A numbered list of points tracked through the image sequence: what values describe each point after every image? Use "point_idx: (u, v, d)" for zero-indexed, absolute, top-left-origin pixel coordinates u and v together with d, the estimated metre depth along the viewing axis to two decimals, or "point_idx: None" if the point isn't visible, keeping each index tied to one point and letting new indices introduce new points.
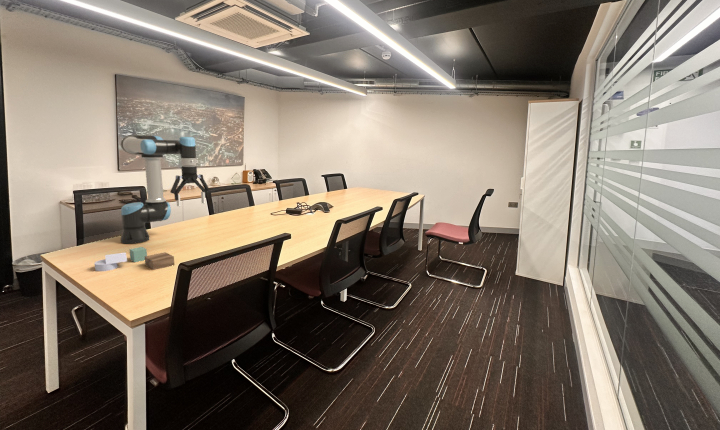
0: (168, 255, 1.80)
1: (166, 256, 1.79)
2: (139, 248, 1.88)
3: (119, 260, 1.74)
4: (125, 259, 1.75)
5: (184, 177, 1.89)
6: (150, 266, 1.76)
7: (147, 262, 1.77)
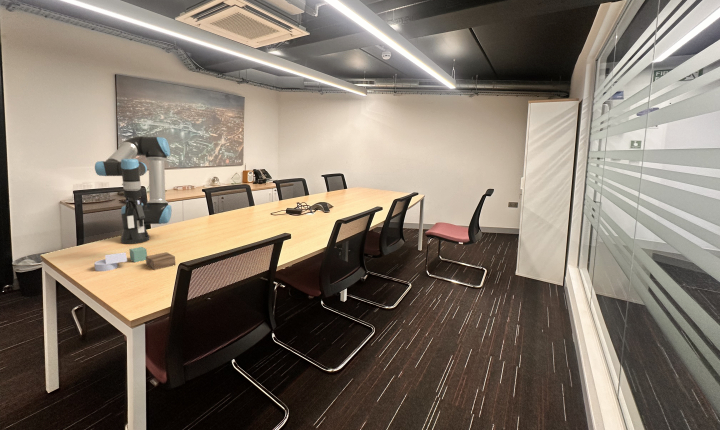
0: (169, 255, 1.81)
1: (167, 256, 1.80)
2: (139, 248, 1.88)
3: (119, 260, 1.74)
4: (125, 259, 1.75)
5: (128, 200, 1.82)
6: (151, 266, 1.76)
7: (148, 262, 1.78)
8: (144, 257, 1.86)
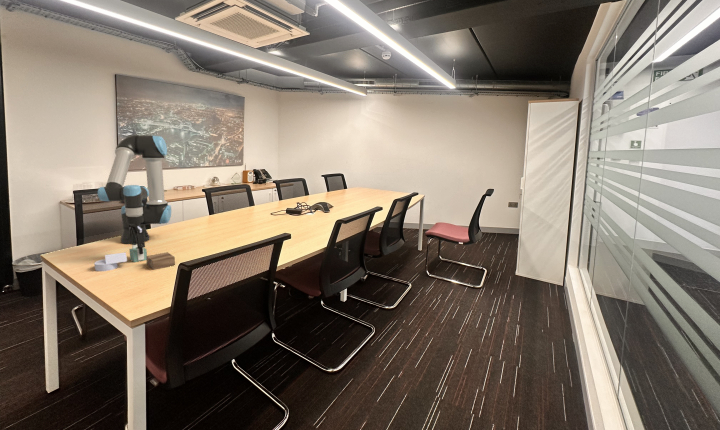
0: (169, 256, 1.80)
1: (167, 256, 1.79)
2: None
3: (119, 260, 1.74)
4: (125, 259, 1.75)
5: (131, 225, 1.85)
6: (150, 266, 1.76)
7: (148, 261, 1.78)
8: (144, 257, 1.86)
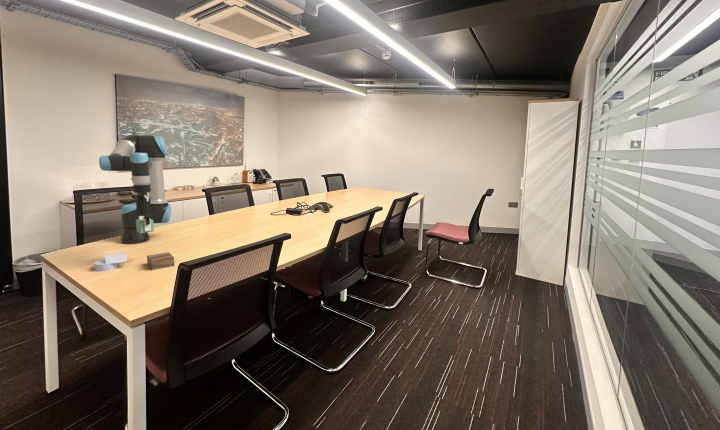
0: (169, 256, 1.80)
1: (167, 256, 1.79)
2: None
3: (119, 260, 1.74)
4: (125, 259, 1.75)
5: (137, 195, 1.78)
6: (150, 266, 1.76)
7: (148, 261, 1.78)
8: (151, 228, 1.79)
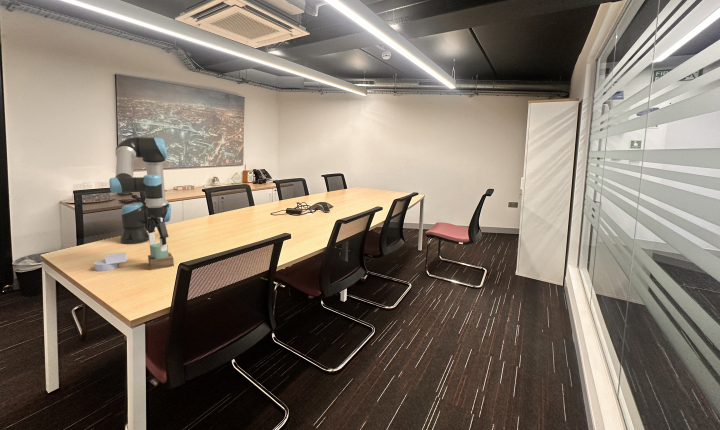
0: (169, 256, 1.80)
1: (166, 257, 1.79)
2: None
3: (119, 260, 1.74)
4: (125, 259, 1.75)
5: (150, 217, 1.77)
6: (150, 265, 1.76)
7: (148, 261, 1.79)
8: (165, 253, 1.79)
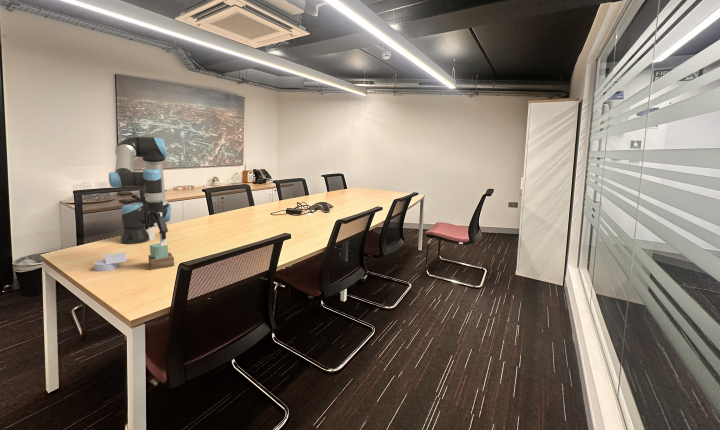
0: (169, 256, 1.80)
1: (167, 257, 1.79)
2: None
3: (119, 260, 1.74)
4: (125, 259, 1.75)
5: (150, 212, 1.76)
6: (150, 265, 1.76)
7: (149, 261, 1.79)
8: (165, 253, 1.78)
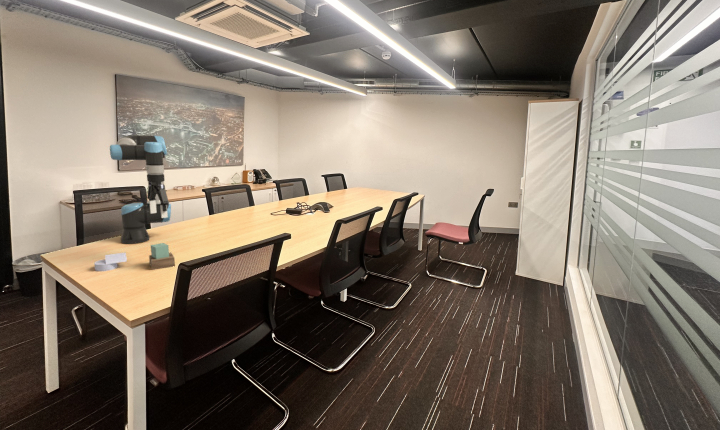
0: (170, 256, 1.80)
1: (167, 257, 1.79)
2: (161, 244, 1.80)
3: (119, 260, 1.74)
4: (125, 259, 1.75)
5: (151, 184, 1.78)
6: (151, 265, 1.76)
7: (150, 261, 1.79)
8: (166, 253, 1.78)
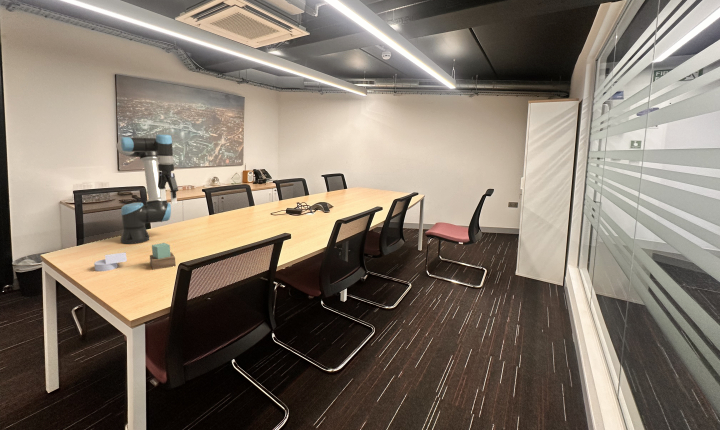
0: (170, 256, 1.80)
1: (168, 257, 1.79)
2: (162, 244, 1.80)
3: (119, 260, 1.74)
4: (125, 259, 1.75)
5: (162, 174, 1.94)
6: (151, 265, 1.77)
7: (150, 261, 1.79)
8: (167, 253, 1.79)
